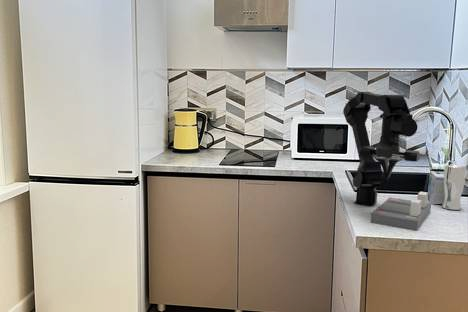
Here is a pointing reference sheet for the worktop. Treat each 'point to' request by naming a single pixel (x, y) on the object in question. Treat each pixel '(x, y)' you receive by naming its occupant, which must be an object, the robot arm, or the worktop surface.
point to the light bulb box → (436, 187)
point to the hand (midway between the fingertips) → (386, 178)
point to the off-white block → (423, 198)
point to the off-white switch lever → (415, 207)
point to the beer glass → (453, 186)
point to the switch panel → (399, 214)
